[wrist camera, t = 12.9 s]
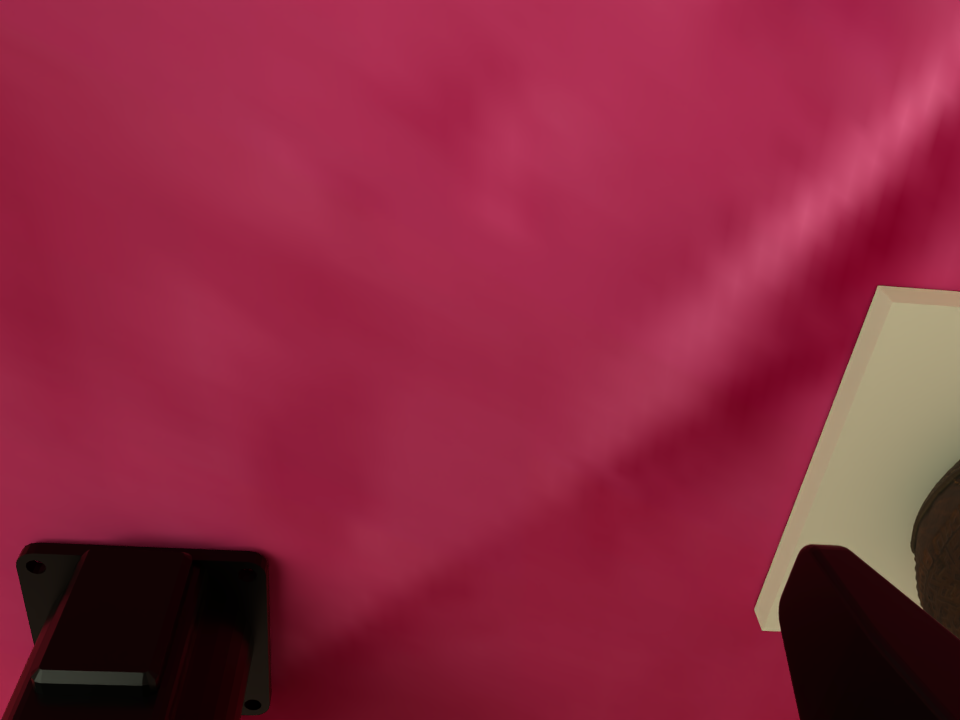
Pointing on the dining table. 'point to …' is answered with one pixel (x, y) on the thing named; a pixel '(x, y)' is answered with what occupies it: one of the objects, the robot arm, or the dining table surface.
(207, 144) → the dining table surface
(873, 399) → the cream square tile
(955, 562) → the mate gourd
